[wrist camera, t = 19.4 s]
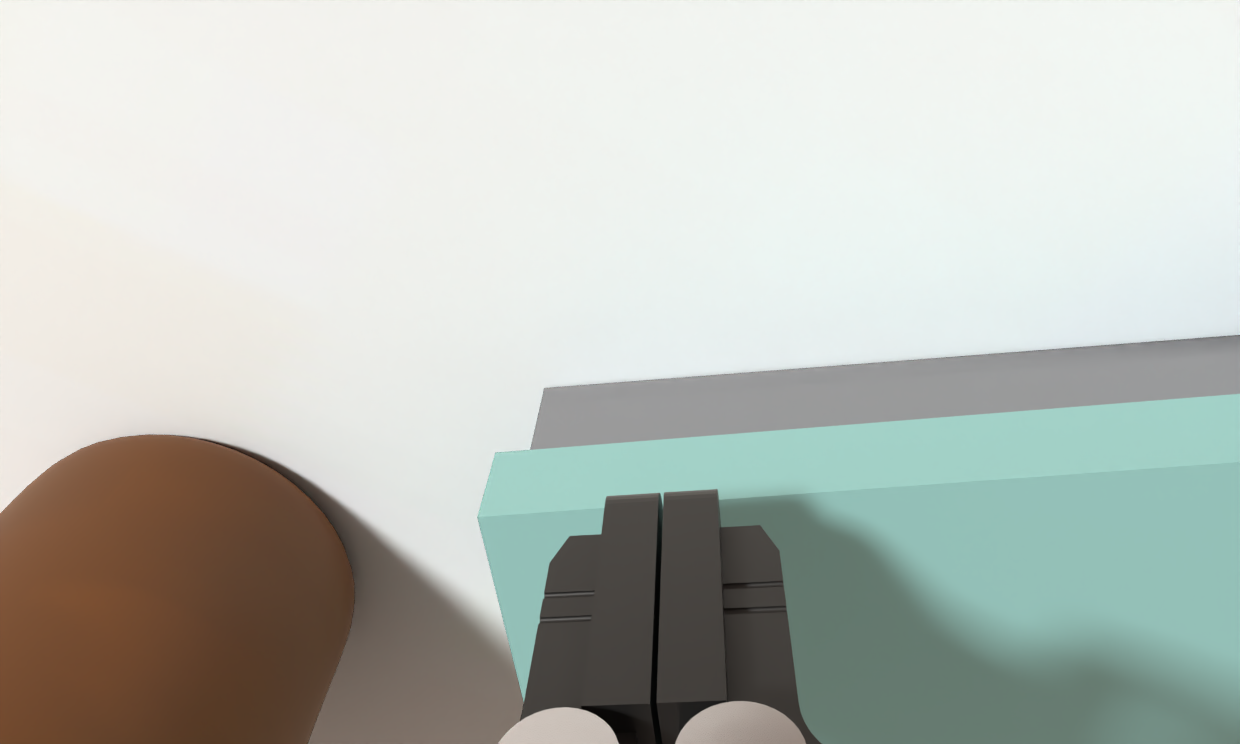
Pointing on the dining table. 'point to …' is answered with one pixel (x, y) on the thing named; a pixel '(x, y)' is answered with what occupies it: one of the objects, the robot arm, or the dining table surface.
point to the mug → (167, 600)
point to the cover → (952, 564)
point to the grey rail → (886, 391)
